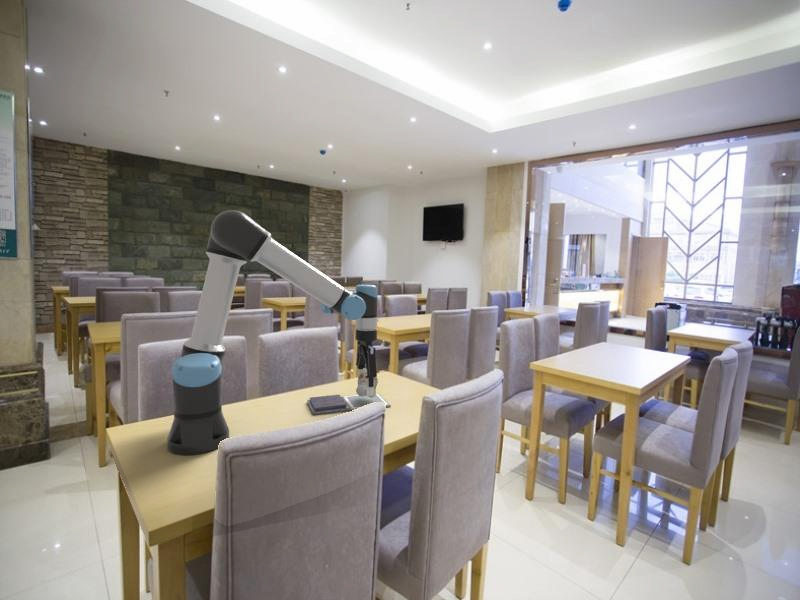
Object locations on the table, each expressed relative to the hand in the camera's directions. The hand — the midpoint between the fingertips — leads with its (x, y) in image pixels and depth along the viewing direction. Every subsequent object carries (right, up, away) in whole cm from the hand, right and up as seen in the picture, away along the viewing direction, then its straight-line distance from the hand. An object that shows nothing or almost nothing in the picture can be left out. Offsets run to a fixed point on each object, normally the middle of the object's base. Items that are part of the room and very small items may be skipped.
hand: (365, 390), depth 145 cm
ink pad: (-13, -4, -5) cm, 14 cm away
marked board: (0, -4, 0) cm, 4 cm away
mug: (0, -1, -1) cm, 1 cm away
